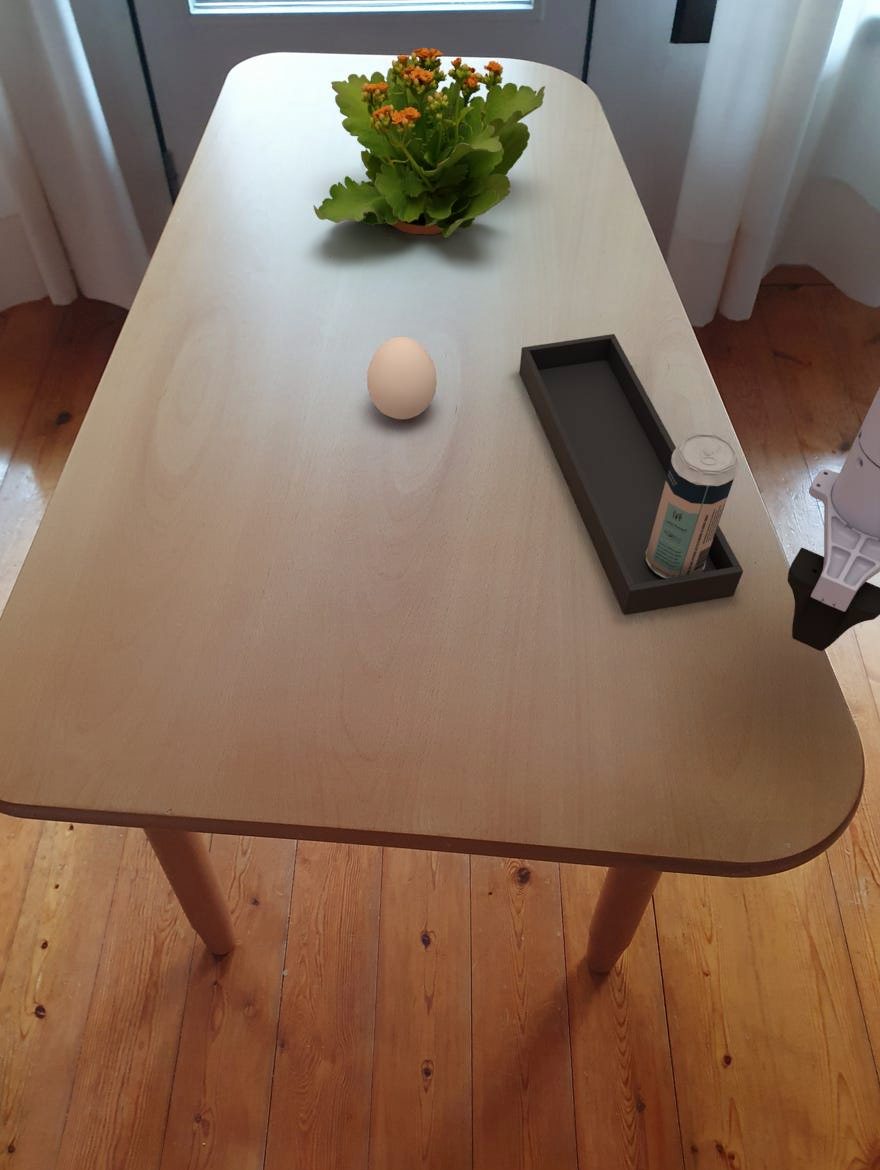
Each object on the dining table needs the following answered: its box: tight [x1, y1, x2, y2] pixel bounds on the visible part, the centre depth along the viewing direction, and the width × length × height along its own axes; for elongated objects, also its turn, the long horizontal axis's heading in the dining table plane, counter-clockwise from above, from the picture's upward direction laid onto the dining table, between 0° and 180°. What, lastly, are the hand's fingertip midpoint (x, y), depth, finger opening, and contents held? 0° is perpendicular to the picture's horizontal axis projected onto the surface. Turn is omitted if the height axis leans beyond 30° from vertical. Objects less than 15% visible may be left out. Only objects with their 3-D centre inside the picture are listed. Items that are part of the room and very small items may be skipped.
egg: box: [366, 336, 438, 421], centre depth 89 cm, size 6×6×8 cm
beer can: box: [646, 433, 740, 579], centre depth 75 cm, size 5×5×12 cm
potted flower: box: [312, 47, 546, 239], centre depth 106 cm, size 25×24×18 cm
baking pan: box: [518, 333, 744, 616], centre depth 85 cm, size 31×9×3 cm, turn 11°
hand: (830, 602), depth 64 cm, fingers open, 7 cm apart
